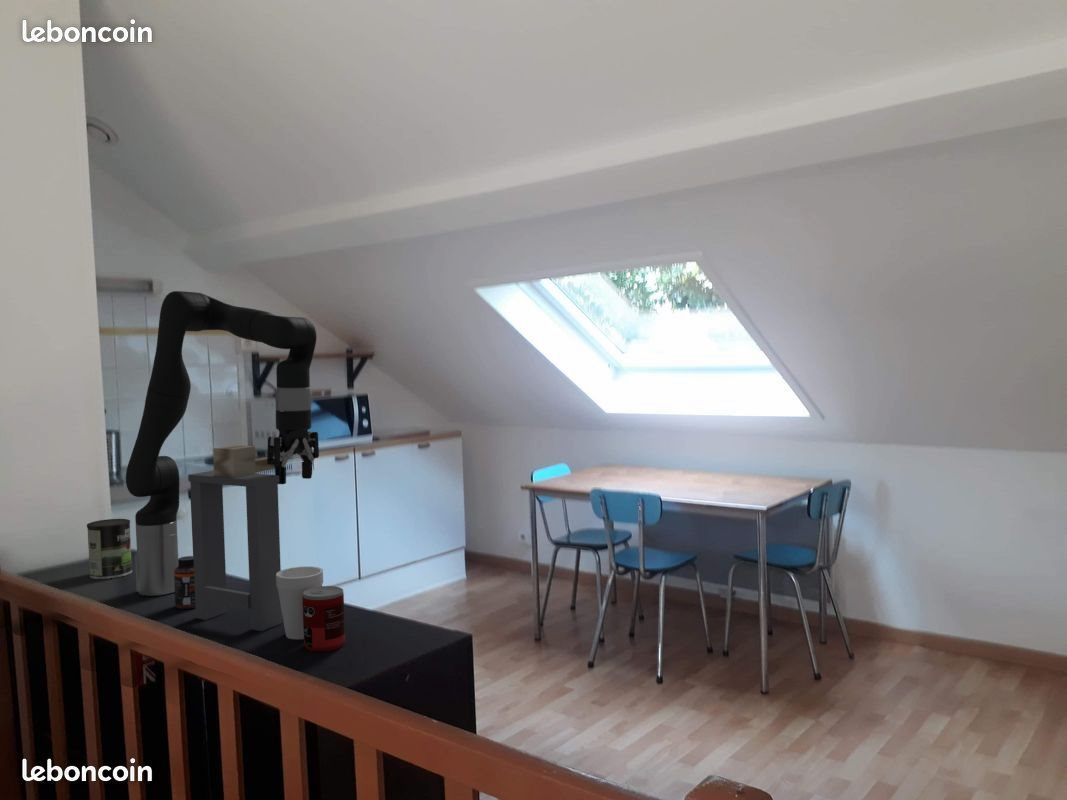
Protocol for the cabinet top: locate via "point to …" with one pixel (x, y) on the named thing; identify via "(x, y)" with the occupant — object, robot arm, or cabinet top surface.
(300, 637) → the foam cup
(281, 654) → the cabinet top surface
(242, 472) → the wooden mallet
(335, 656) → the cabinet top surface
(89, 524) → the coffee can
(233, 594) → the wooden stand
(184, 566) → the supplement bottle
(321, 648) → the canned food
